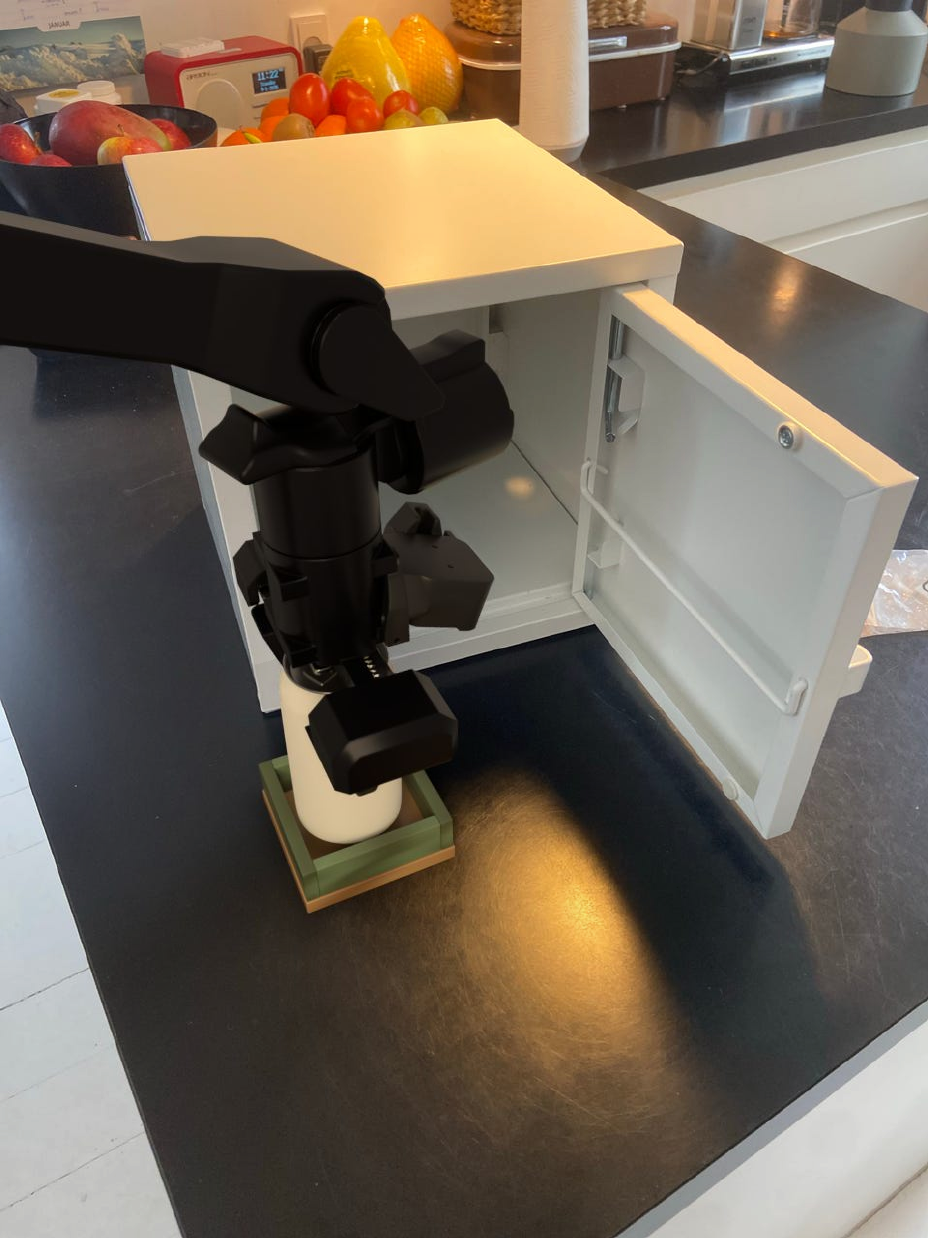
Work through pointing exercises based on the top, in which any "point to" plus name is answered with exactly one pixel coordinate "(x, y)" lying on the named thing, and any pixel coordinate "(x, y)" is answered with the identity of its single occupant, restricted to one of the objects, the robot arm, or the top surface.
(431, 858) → the tray
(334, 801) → the can
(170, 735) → the top surface
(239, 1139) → the top surface
